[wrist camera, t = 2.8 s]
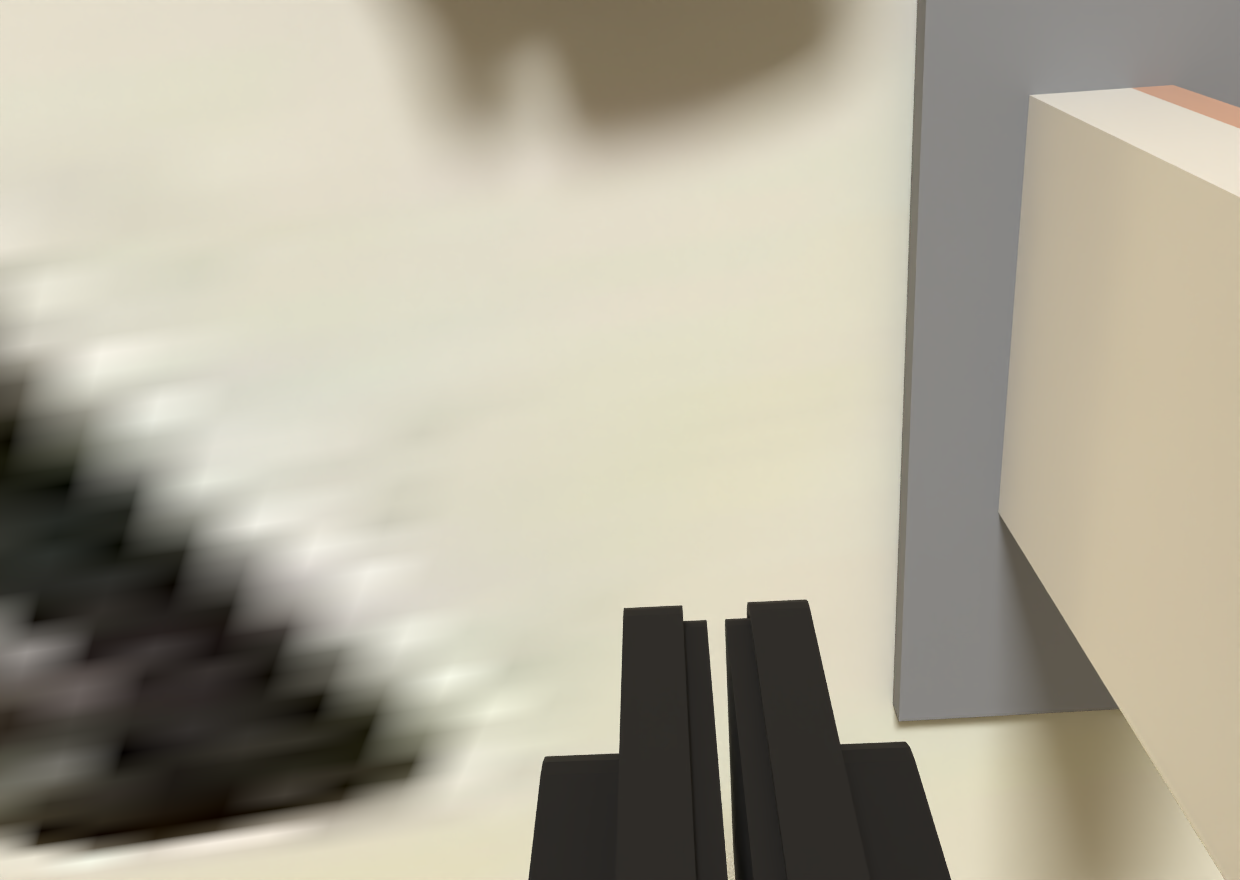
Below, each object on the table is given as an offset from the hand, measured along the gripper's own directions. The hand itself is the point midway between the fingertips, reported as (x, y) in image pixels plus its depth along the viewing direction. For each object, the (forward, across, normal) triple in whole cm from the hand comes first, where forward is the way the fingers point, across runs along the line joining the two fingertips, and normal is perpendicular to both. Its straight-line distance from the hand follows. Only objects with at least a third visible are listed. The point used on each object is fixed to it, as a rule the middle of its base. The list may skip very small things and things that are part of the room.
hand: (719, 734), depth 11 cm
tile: (+12, -7, +1) cm, 14 cm away
